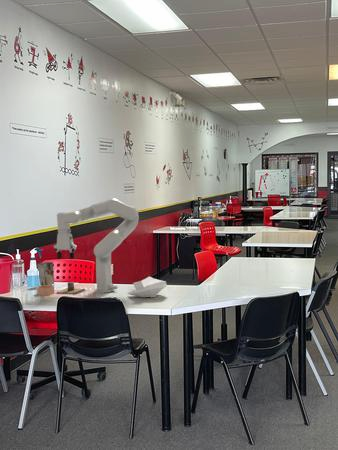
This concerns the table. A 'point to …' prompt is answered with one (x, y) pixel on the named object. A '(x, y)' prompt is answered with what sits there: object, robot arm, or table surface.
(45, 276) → the coffee box
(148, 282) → the paper
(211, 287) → the table surface
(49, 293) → the bowl
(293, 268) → the table surface
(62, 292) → the lid
